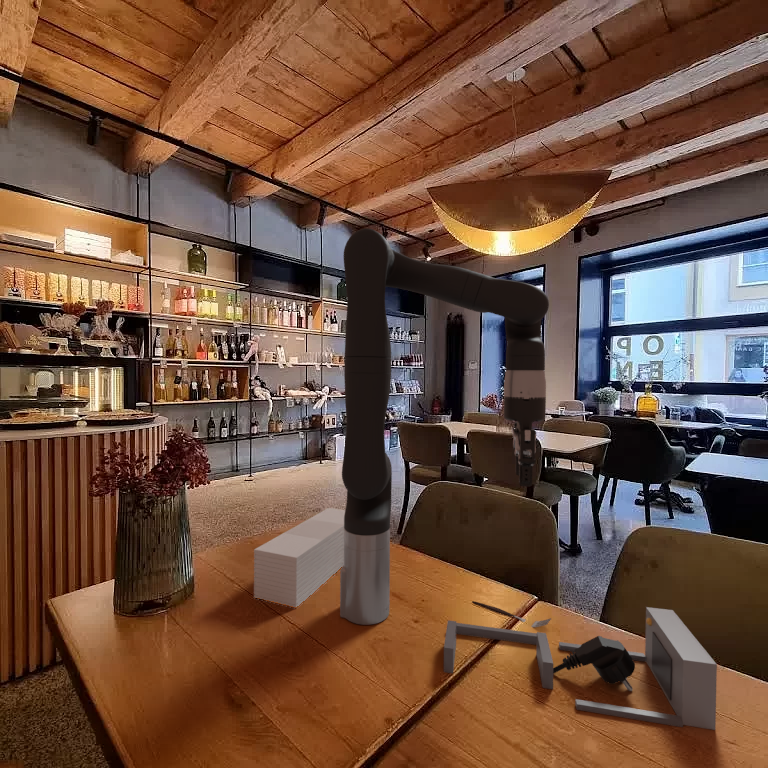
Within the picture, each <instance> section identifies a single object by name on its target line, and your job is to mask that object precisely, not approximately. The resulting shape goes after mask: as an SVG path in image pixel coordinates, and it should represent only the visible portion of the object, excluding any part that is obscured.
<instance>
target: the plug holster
mask: <svg viewBox="0 0 768 768" xmlns="http://www.w3.org/2000/svg"><path fill="white" fill-rule="evenodd" d="M446 623H447V624H446V629H445V631H446V632H445V637H444V644H443V673H448V674H454V669H455V668H454V667H455V659H456V648H457V635H464V636H471V637H478V638H483V639H484V638H485V639H490V640H491V639H492V640H497V641H498V640H499V641H507V642H513V643H519V644H528V645H536V650H535V651H536V654H535V655H536V661H537V666H538V671H539V676H540V681H541V687H542V688H544V689H549V690H554V674H553V668H554V661H553V657H552V652H551V647H550V643H549V640H548V635H547V633H546V632H538V631H537V632H528V631H522V630H514V629H506V628H498V627H491V626H484V625H476V624H468V623H461V622H457V621H455V620H447V622H446Z"/></svg>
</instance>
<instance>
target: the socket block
mask: <svg viewBox="0 0 768 768" xmlns="http://www.w3.org/2000/svg"><path fill="white" fill-rule="evenodd" d="M581 645H582V644H577V643H570V642H563V641H559V642H558V648H559V650H560V651H566V652H567V651H568V652H571V653H572V652H573V651H574V653H575V649H577V648H579V647H581ZM644 650H645V651H644V652H645V653H643V652H638V651H629V650H627V652H628V653H629V655H630V656H631V657H632V659H633V661H639V662H644V663H645V662H646V664H647V666H648V667H649V669H650V671H651V672H652V674H653V676H654V678H655V681H656V682H657V683H658V685H659V687H660V689H661V690H662V692H663V694H664V695H665V697H666V699H667V702H668V703H669V704H670V706H671V707H672V709H673V711H674V714H671V713H670V714H669V713H664V712H658V711H652V710H645V709H638V708H634V707H628V706H621V705H614V704H609V703H602V702H597V701H596V702H595V701H590V700H582V699H578V698H575V699H574V700H575V703H574V705H575V708H576V710H577V711H584V712H589V713H596V714H601V715H606V716H613V717H620V718H625V719H631V720H637V721H643V722H648V723H656V724H662V725H666V726H673V727H679V728H680V727H681V728H683V727H684V726H689V727H695V728H701V729H707V730H713V731H716V726H717V725H716V722H717V720H716V715H717V681H718V680H717V679H718V678H717V674H718V673H717V671H718V670H717V669H718V664H717V662H715V661H714V659H713V658H712V657H711V655H710V654H709V653H708V652H707V650H706V649H705V648H704V647H703V646H702V644H701V643H700V642H699V641H698V639H697V638H696V637H695V636H694V634H693V633H692V632H691V631H690V629H689V628H688V627H687V625H685V624H684V622H683V621H682V619H681V618H680V617H679V616H678V614H677V613H676V612H675V611H674V610H673V609H667V608H666V609H665V608H657V607H648V606H645V647H644Z"/></svg>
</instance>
